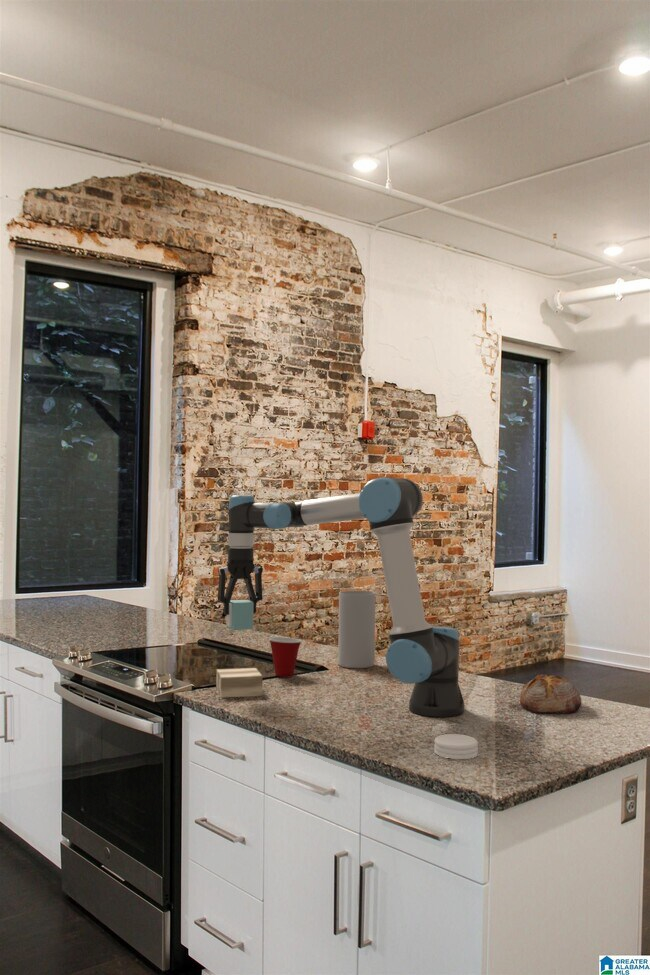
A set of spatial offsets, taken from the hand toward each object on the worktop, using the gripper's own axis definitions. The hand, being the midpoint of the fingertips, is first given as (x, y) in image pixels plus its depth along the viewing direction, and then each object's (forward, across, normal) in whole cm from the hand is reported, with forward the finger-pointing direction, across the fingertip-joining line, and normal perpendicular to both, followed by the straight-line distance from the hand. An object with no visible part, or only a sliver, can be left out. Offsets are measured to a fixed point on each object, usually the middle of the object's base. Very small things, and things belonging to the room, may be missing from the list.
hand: (239, 624), depth 260 cm
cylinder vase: (+20, -51, -21) cm, 59 cm away
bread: (+20, -74, +52) cm, 92 cm away
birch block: (+20, 0, 0) cm, 20 cm away
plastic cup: (+20, -22, -16) cm, 34 cm away
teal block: (+1, 0, 0) cm, 1 cm away
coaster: (+20, -24, +77) cm, 83 cm away
